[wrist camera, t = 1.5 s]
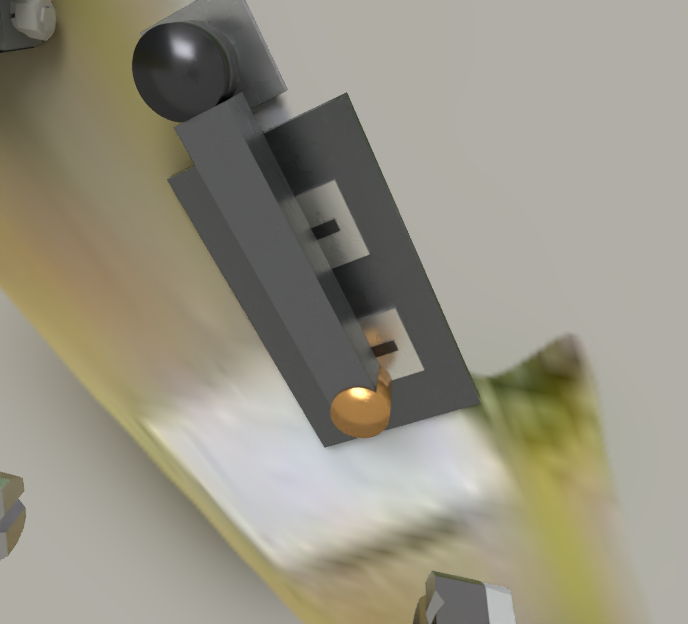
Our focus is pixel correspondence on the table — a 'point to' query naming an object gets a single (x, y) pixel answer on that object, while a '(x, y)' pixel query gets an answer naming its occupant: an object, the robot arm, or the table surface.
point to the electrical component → (25, 23)
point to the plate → (345, 269)
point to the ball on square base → (238, 45)
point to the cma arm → (262, 213)
